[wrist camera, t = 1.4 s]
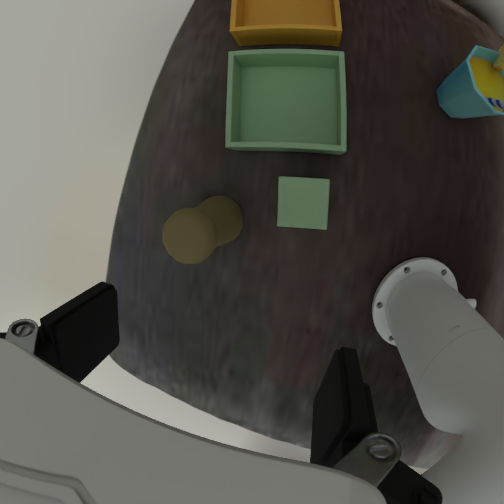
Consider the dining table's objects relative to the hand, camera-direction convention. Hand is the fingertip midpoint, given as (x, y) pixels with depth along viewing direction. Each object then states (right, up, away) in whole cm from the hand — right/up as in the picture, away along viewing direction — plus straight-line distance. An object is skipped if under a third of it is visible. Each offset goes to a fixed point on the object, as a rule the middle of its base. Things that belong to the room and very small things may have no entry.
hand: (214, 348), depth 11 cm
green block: (+7, +10, +21) cm, 25 cm away
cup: (+26, +22, +14) cm, 37 cm away
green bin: (+6, +21, +19) cm, 28 cm away
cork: (-2, +8, +24) cm, 26 cm away
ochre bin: (+6, +34, +15) cm, 38 cm away
